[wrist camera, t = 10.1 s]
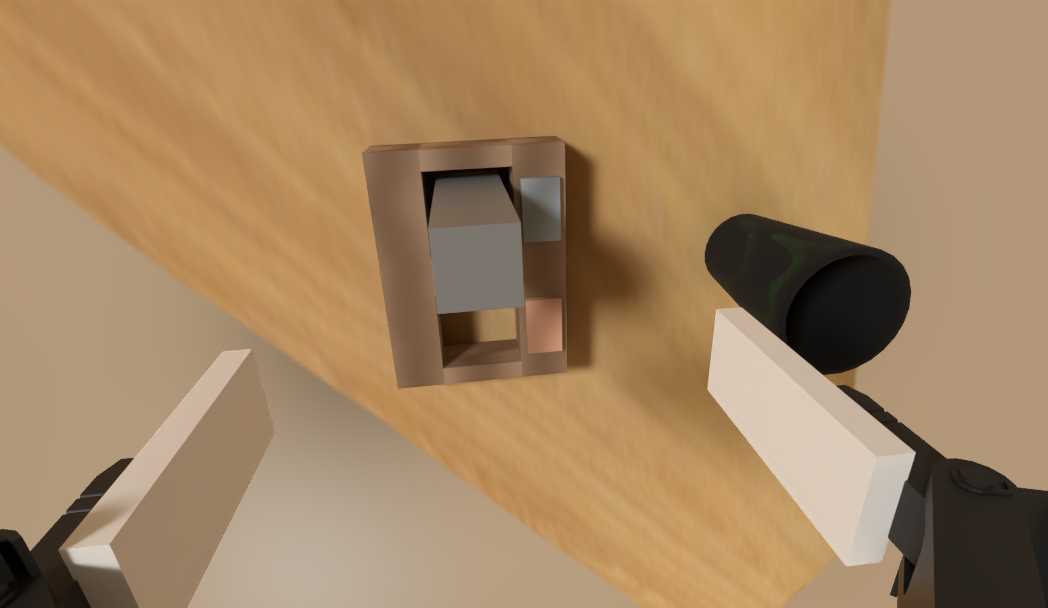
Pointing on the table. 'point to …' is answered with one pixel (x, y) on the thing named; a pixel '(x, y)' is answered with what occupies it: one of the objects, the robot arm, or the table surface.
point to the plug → (475, 244)
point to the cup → (811, 289)
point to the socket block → (409, 265)
